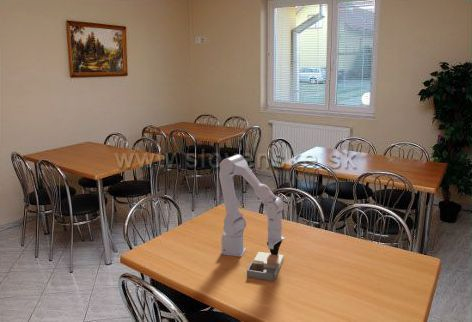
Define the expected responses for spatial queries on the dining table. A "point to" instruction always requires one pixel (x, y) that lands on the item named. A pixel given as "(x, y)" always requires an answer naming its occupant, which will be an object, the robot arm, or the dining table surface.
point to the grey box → (263, 273)
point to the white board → (263, 257)
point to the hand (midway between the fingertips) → (274, 257)
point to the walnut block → (258, 266)
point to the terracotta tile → (272, 259)
